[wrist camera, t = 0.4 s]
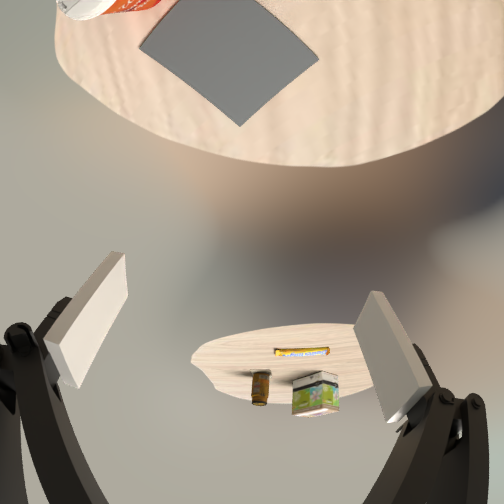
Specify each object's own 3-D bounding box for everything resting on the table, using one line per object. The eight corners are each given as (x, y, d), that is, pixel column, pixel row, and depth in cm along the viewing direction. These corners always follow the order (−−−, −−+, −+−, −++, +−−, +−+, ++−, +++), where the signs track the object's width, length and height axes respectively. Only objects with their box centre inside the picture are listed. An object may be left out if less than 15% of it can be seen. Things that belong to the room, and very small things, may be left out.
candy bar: (331, 345, 78) (331, 350, 76) (329, 350, 80) (330, 356, 79) (274, 347, 80) (274, 352, 78) (275, 352, 83) (275, 358, 81)
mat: (140, 48, 27) (138, 49, 26) (211, -29, 19) (211, -30, 19) (240, 126, 35) (239, 126, 35) (318, 59, 27) (319, 59, 27)
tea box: (321, 370, 91) (322, 408, 81) (338, 375, 95) (340, 411, 85) (291, 380, 100) (291, 415, 90) (309, 385, 104) (309, 418, 94)
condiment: (253, 377, 99) (250, 406, 91) (249, 369, 93) (247, 400, 85) (272, 377, 98) (270, 406, 90) (270, 369, 92) (269, 401, 84)
